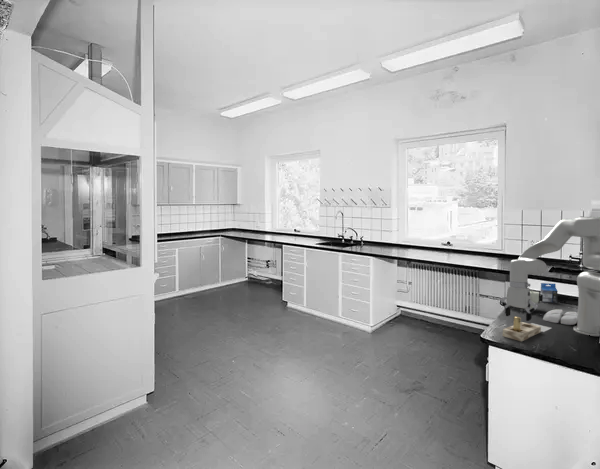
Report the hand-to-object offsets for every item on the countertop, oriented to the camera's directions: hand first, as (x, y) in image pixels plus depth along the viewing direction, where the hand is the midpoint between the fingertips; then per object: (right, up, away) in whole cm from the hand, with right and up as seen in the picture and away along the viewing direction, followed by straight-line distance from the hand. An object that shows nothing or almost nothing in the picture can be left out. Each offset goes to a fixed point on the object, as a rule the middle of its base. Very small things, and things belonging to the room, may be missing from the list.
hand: (518, 318), depth 179 cm
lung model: (+43, -8, +28) cm, 51 cm away
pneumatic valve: (+38, -6, +49) cm, 62 cm away
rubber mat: (+18, -8, +13) cm, 24 cm away
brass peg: (0, -10, +1) cm, 10 cm away
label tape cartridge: (+60, -4, +64) cm, 88 cm away
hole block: (+4, -9, +4) cm, 11 cm away
